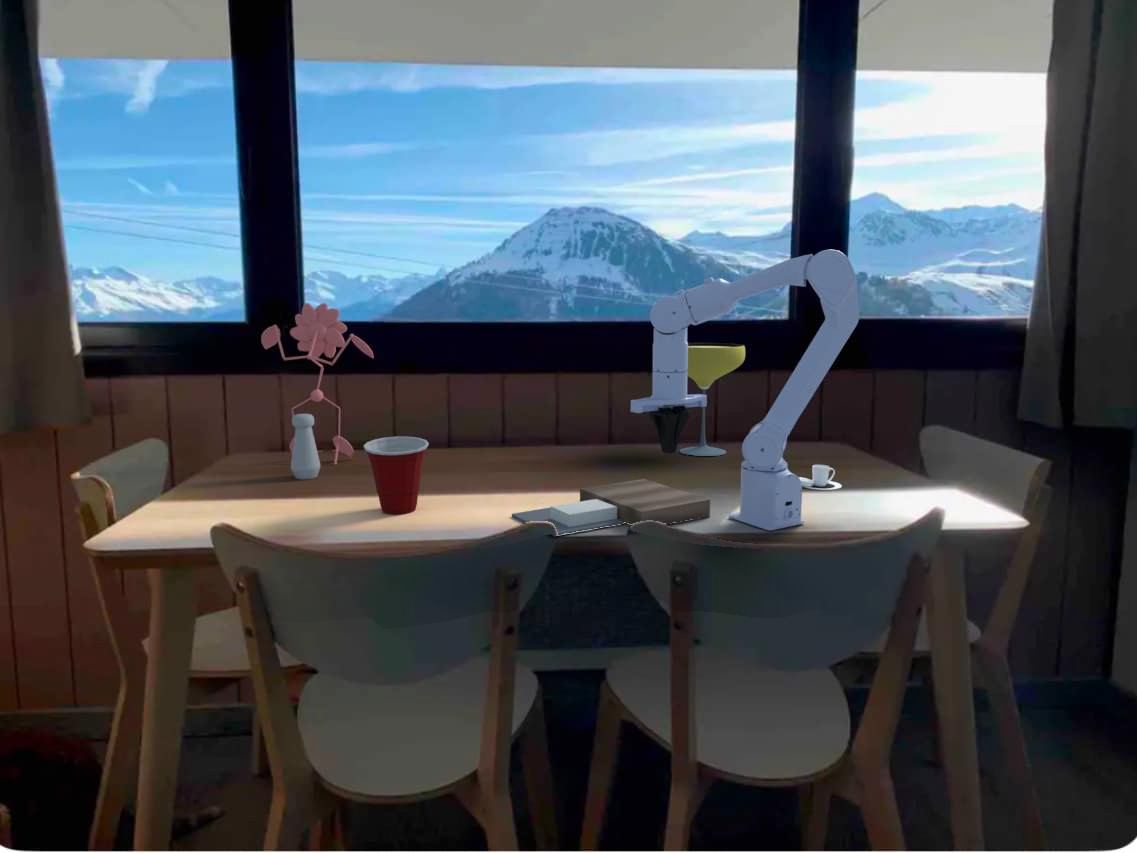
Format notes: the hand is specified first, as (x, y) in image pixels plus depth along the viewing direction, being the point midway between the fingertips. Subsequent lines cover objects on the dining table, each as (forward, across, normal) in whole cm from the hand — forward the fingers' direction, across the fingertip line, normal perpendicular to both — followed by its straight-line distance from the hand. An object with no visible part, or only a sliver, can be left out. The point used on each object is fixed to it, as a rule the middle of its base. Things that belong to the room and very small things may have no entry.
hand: (668, 452), depth 134 cm
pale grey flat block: (+10, +15, -3) cm, 18 cm away
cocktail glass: (+11, -40, -37) cm, 56 cm away
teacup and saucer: (+11, -37, -3) cm, 39 cm away
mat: (+10, +17, -5) cm, 21 cm away
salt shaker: (+11, +45, -61) cm, 77 cm away
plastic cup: (+11, +38, -26) cm, 47 cm away
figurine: (+11, +36, -78) cm, 87 cm away
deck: (+10, +3, -3) cm, 11 cm away
